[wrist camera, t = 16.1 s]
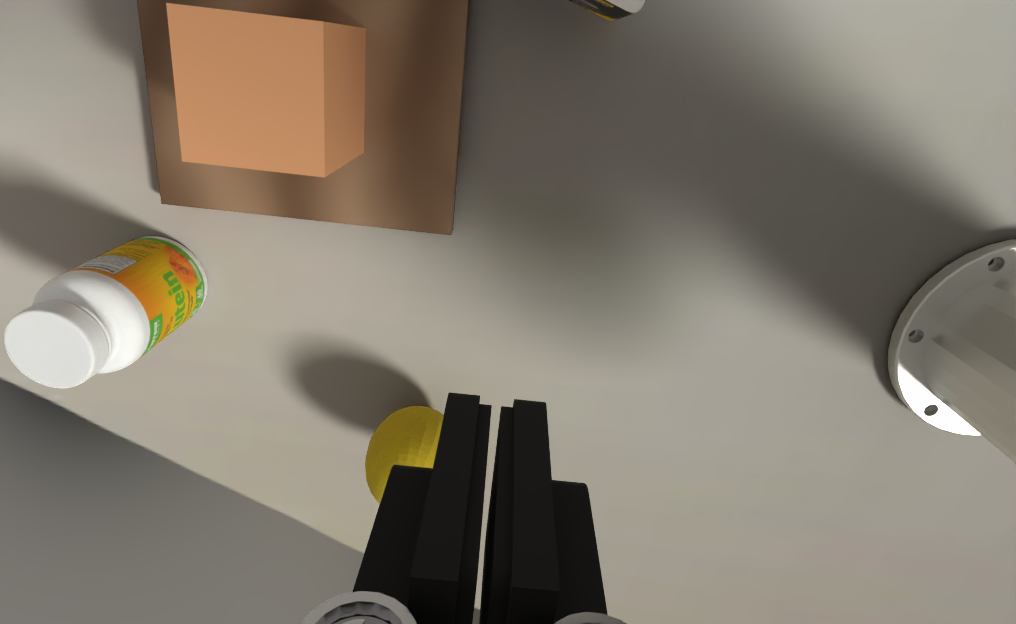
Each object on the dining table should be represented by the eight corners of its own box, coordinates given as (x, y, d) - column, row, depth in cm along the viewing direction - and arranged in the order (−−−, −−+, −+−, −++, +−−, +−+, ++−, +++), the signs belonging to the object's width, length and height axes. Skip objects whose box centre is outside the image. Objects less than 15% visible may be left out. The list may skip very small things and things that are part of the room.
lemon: (431, 368, 38) (410, 443, 31) (482, 430, 40) (474, 515, 33) (364, 409, 40) (329, 491, 32) (416, 467, 41) (393, 557, 34)
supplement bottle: (216, 321, 37) (120, 405, 28) (128, 316, 37) (5, 399, 28) (203, 236, 35) (95, 298, 26) (110, 231, 35) (-30, 292, 26)
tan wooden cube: (365, 28, 30) (323, 21, 23) (364, 152, 32) (324, 177, 26) (243, 13, 30) (166, 2, 23) (250, 139, 32) (182, 161, 26)
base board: (473, -51, 29) (471, -54, 28) (452, 230, 35) (451, 235, 34) (138, -91, 29) (125, -96, 28) (171, 199, 34) (161, 203, 33)
